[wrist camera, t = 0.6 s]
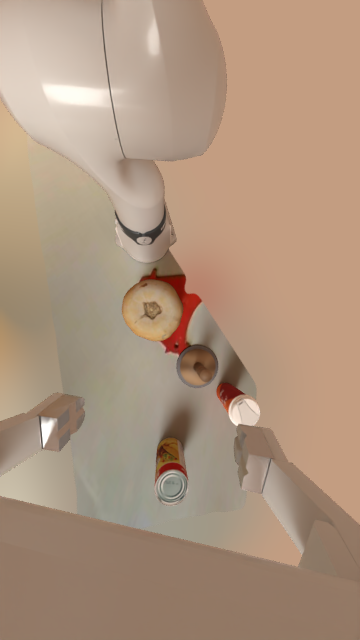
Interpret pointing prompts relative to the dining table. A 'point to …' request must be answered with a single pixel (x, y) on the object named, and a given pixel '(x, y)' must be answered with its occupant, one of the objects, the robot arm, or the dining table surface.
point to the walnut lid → (197, 367)
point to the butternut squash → (152, 309)
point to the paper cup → (238, 405)
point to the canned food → (170, 473)
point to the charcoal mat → (182, 357)
